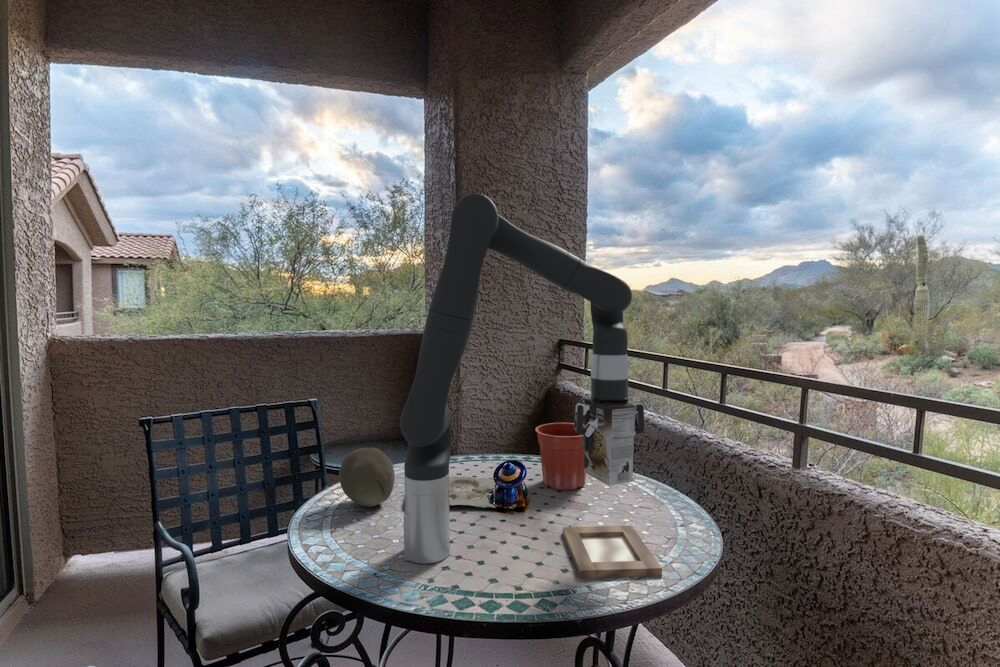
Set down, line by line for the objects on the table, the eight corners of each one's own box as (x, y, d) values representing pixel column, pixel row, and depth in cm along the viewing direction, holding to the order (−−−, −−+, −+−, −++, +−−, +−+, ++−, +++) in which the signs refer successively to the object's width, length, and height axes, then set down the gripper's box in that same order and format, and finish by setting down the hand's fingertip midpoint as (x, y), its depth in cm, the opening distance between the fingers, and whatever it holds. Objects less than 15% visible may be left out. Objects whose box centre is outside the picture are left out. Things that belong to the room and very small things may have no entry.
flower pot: (523, 481, 152) (523, 427, 151) (563, 470, 162) (564, 419, 161) (563, 498, 139) (563, 439, 138) (604, 485, 149) (604, 430, 148)
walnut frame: (579, 578, 99) (580, 570, 99) (562, 533, 118) (562, 527, 118) (661, 575, 100) (661, 568, 100) (631, 531, 119) (631, 525, 119)
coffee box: (582, 472, 111) (583, 398, 110) (607, 468, 113) (608, 395, 112) (608, 486, 102) (610, 406, 101) (634, 481, 105) (636, 403, 104)
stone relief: (526, 513, 131) (523, 483, 151) (526, 502, 131) (523, 474, 151) (399, 513, 131) (413, 483, 151) (398, 503, 131) (412, 474, 151)
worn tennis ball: (397, 493, 143) (396, 440, 142) (392, 514, 129) (391, 455, 128) (344, 496, 141) (343, 442, 140) (334, 517, 127) (332, 458, 126)
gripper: (579, 378, 102) (578, 459, 103) (649, 378, 103) (648, 458, 104) (571, 373, 110) (571, 448, 111) (637, 372, 111) (636, 447, 112)
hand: (608, 453), depth 107 cm, fingers closed on coffee box, 8 cm apart
